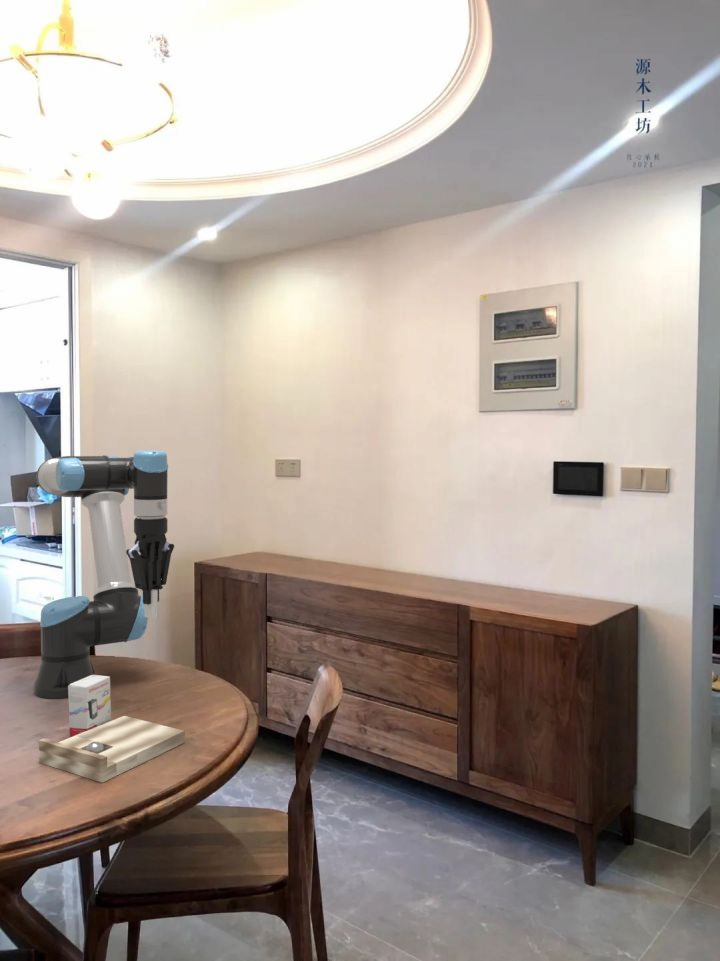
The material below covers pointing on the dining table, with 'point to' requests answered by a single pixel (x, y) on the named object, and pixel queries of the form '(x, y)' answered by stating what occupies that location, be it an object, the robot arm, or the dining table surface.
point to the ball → (95, 747)
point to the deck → (110, 748)
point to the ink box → (89, 703)
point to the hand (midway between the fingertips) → (151, 616)
